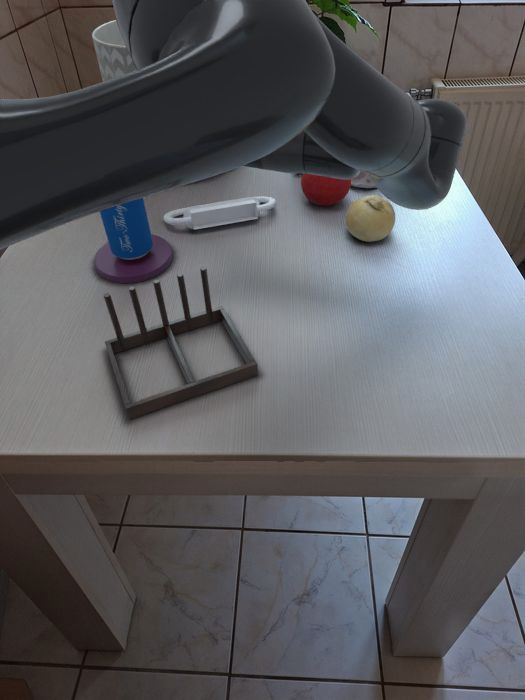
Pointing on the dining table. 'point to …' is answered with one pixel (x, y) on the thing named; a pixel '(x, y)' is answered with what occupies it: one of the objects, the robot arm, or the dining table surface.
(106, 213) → the beverage can
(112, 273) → the plum lid
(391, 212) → the onion
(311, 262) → the dining table surface
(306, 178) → the tomato
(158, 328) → the drying rack
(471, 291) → the dining table surface
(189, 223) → the oval loop handle
